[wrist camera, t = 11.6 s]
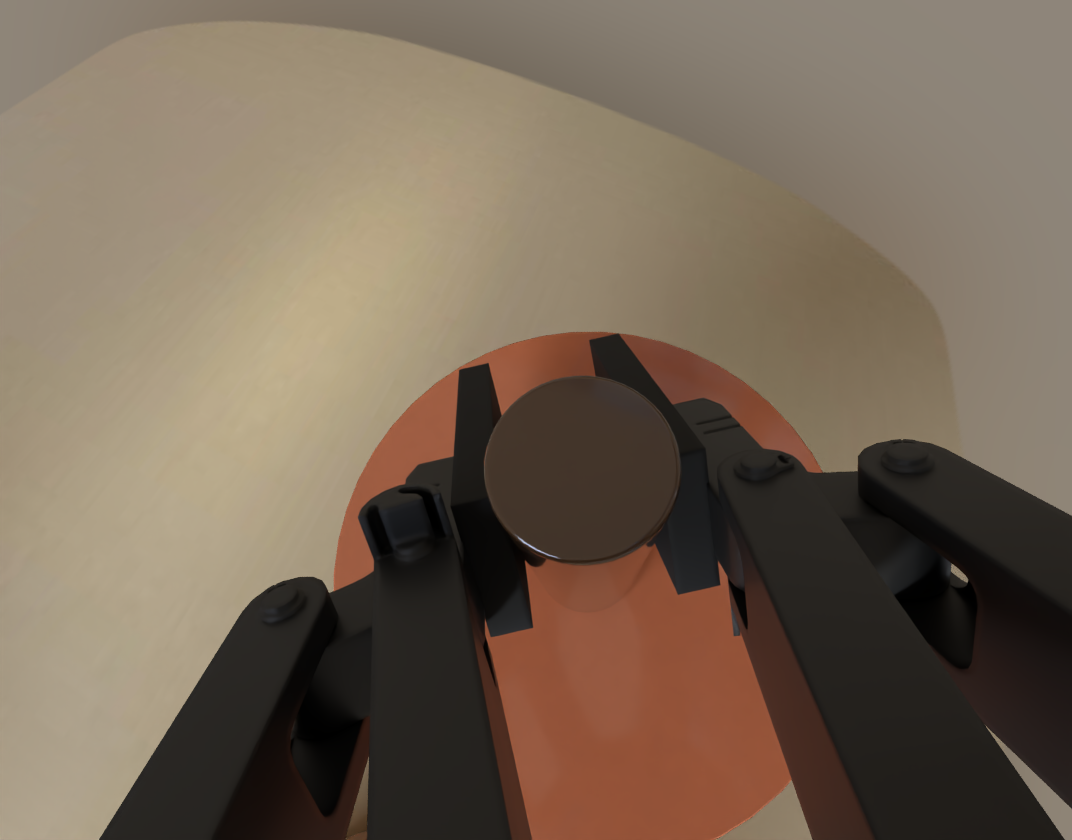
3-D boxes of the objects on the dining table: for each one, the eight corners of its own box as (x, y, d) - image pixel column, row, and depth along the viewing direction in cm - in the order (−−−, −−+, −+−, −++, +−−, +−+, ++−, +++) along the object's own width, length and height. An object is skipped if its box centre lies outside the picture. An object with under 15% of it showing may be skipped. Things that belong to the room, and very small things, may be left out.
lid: (907, 463, 18) (1258, 247, 9) (722, 980, 14) (979, 1607, 5) (494, 287, 21) (416, -13, 12) (254, 674, 18) (-146, 695, 8)
